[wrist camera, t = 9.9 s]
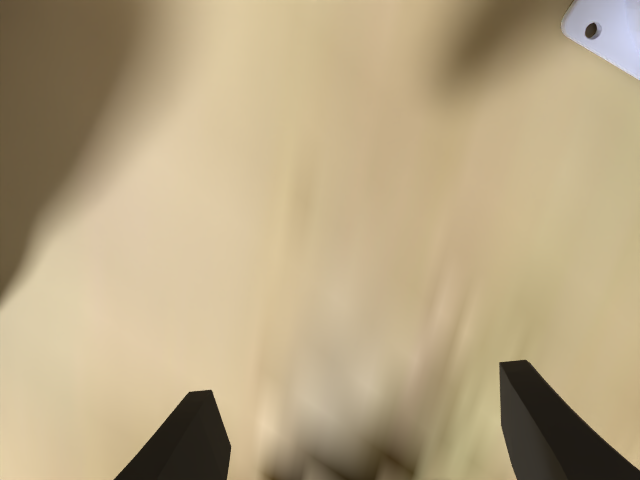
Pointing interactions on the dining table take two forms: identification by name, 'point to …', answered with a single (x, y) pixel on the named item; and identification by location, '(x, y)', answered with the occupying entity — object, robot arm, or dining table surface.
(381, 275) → the dining table surface
